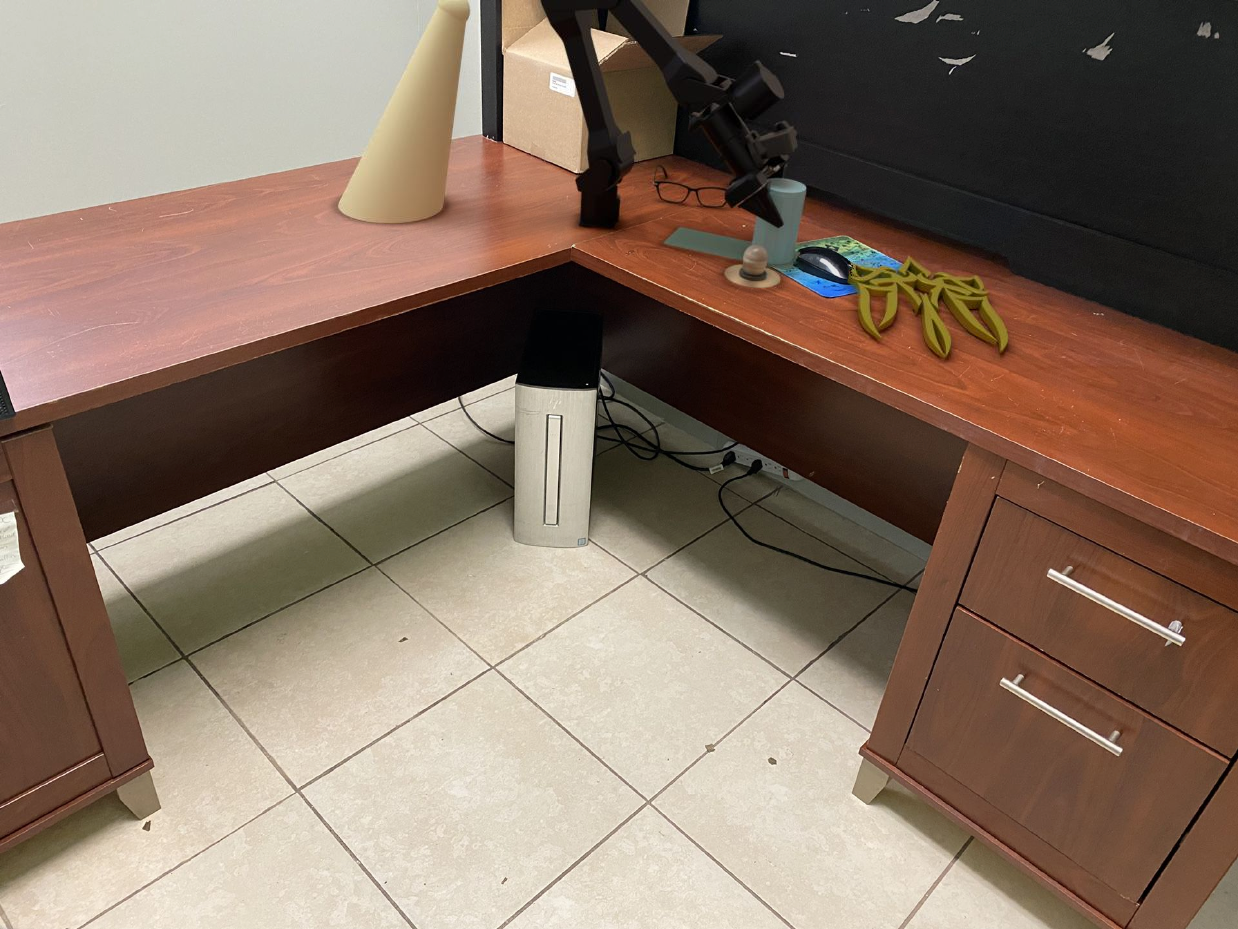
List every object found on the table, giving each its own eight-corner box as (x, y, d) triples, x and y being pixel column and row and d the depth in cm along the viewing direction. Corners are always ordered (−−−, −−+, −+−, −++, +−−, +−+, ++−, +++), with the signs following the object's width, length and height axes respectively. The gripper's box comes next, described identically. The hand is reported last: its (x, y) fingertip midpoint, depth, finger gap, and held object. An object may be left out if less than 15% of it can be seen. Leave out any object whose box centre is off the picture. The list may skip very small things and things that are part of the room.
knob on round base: (725, 288, 135) (730, 254, 131) (722, 265, 142) (727, 232, 139) (783, 292, 135) (789, 259, 132) (776, 269, 142) (782, 237, 139)
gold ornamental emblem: (974, 261, 146) (1028, 361, 118) (971, 270, 147) (1024, 371, 119) (842, 247, 147) (865, 342, 119) (840, 256, 148) (862, 353, 120)
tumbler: (756, 264, 142) (769, 191, 135) (746, 247, 148) (757, 177, 141) (797, 264, 143) (811, 192, 136) (785, 248, 149) (798, 178, 142)
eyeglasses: (648, 201, 165) (650, 180, 163) (658, 176, 178) (660, 156, 176) (734, 211, 164) (737, 190, 161) (738, 185, 176) (741, 165, 174)
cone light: (320, 215, 148) (288, -16, 127) (361, 183, 163) (339, -30, 142) (460, 233, 146) (450, 0, 126) (489, 198, 161) (484, -15, 140)
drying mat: (662, 245, 147) (662, 243, 147) (679, 229, 154) (679, 226, 154) (788, 273, 141) (788, 270, 141) (800, 254, 148) (800, 252, 148)
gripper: (756, 120, 126) (816, 209, 129) (786, 95, 140) (839, 175, 143) (698, 165, 133) (756, 248, 136) (733, 136, 147) (784, 213, 150)
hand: (786, 219), depth 141 cm, fingers closed on tumbler, 7 cm apart
